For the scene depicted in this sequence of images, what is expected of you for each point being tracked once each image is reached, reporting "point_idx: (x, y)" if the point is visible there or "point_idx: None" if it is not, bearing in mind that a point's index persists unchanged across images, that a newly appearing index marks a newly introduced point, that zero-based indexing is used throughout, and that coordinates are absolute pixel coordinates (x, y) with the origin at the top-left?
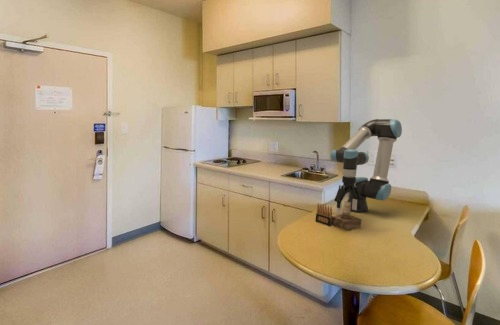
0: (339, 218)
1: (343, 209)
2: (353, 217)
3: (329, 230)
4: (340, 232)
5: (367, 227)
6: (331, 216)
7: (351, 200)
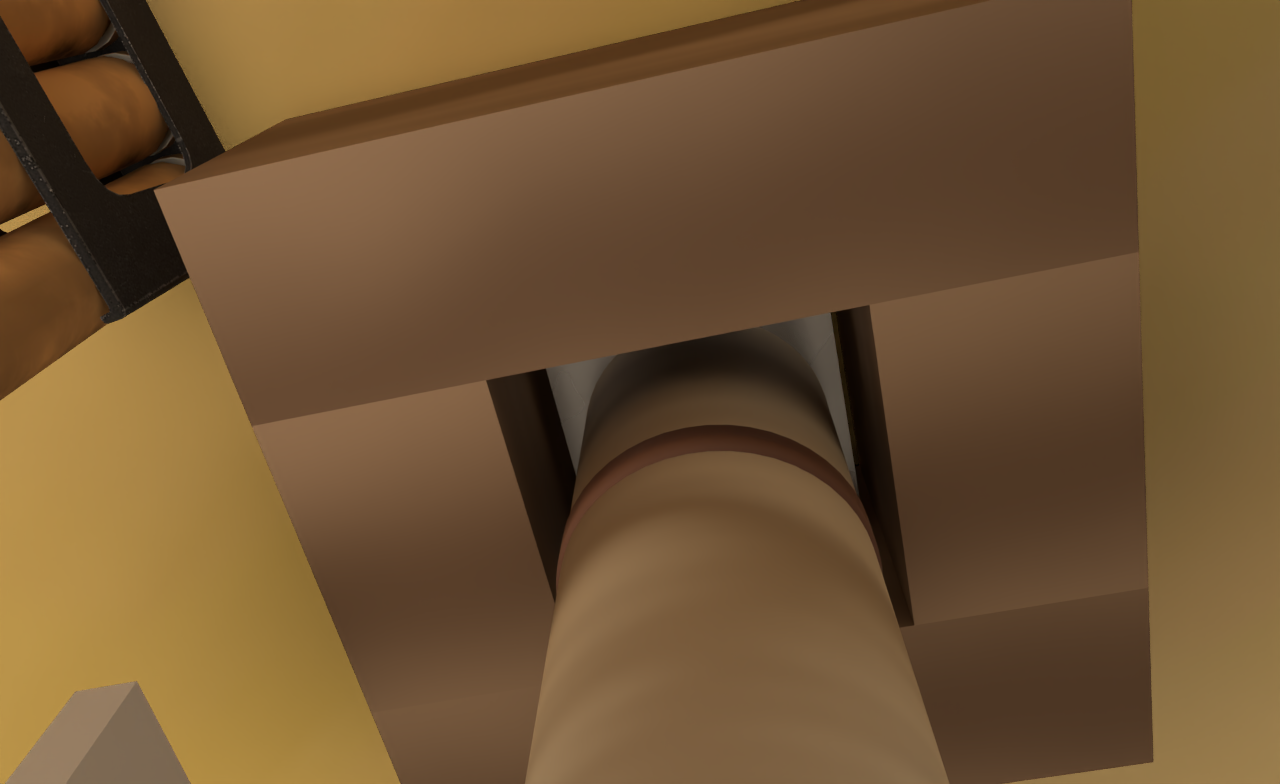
0: (367, 514)
1: (542, 705)
2: (1012, 575)
3: (11, 523)
4: (246, 695)
5: (1213, 642)
6: (40, 367)
7: None
